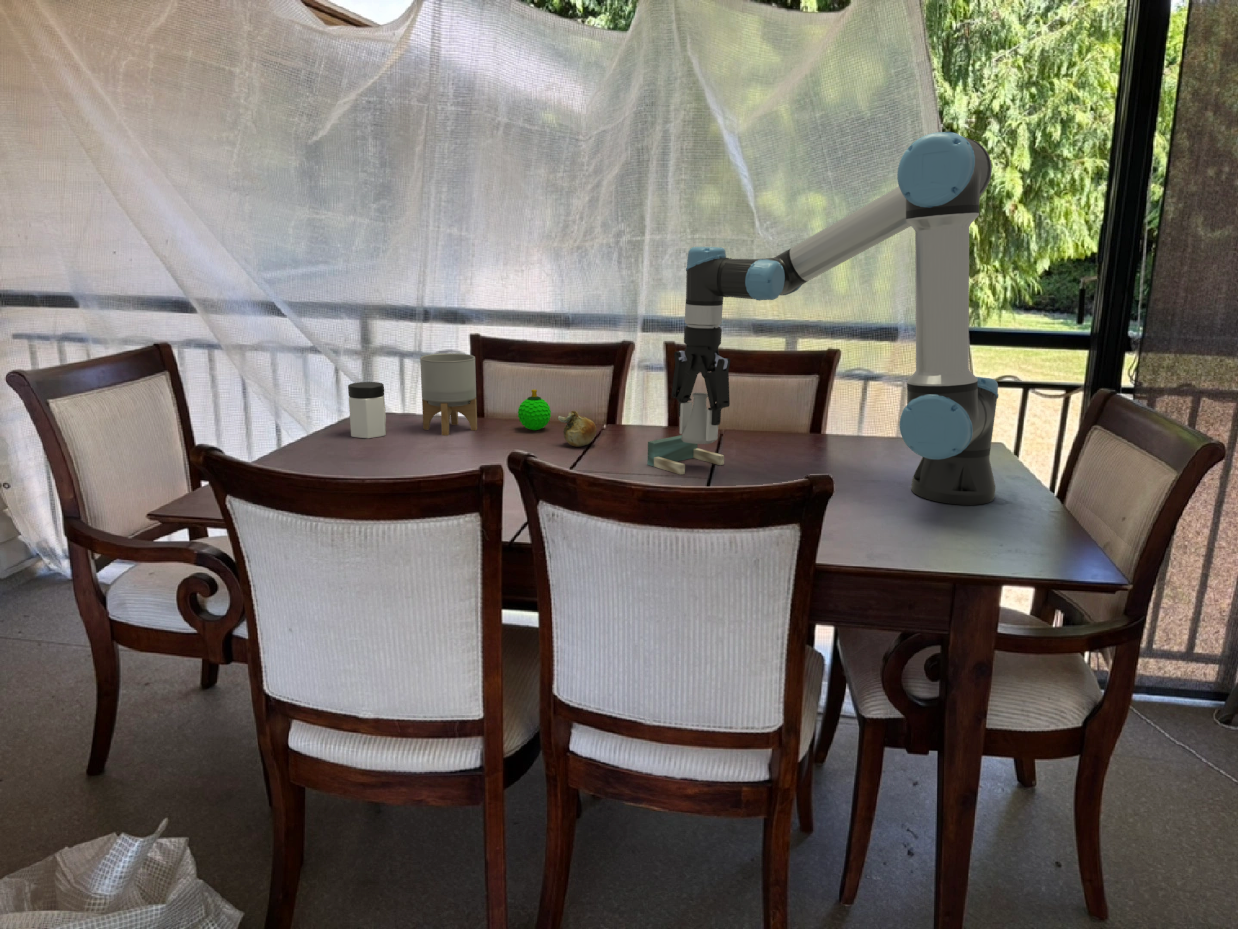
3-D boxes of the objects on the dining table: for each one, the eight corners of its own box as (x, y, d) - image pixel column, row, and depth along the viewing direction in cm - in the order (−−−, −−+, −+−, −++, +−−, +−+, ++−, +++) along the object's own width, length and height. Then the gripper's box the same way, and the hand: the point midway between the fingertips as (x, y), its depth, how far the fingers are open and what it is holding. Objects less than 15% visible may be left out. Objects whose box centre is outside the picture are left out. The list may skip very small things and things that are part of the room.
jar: (386, 438, 210) (383, 387, 207) (349, 439, 208) (346, 388, 205) (387, 429, 218) (384, 380, 215) (352, 430, 217) (349, 381, 213)
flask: (713, 446, 183) (716, 398, 180) (678, 444, 184) (680, 396, 181) (717, 438, 190) (719, 391, 187) (683, 436, 191) (685, 389, 188)
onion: (577, 451, 200) (577, 416, 198) (555, 444, 206) (555, 410, 204) (603, 446, 205) (603, 412, 203) (581, 440, 211) (581, 406, 209)
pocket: (723, 464, 191) (725, 441, 190) (680, 474, 183) (681, 451, 182) (690, 455, 199) (691, 433, 197) (647, 464, 190) (647, 441, 189)
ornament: (522, 425, 225) (521, 386, 222) (554, 427, 224) (554, 387, 221) (514, 433, 217) (513, 392, 214) (547, 434, 216) (546, 393, 213)
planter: (472, 436, 213) (470, 361, 209) (417, 435, 213) (414, 360, 209) (481, 424, 226) (479, 353, 221) (429, 423, 226) (426, 352, 221)
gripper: (753, 329, 176) (746, 443, 182) (681, 319, 190) (677, 425, 196) (726, 331, 171) (721, 448, 177) (655, 321, 185) (652, 430, 191)
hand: (698, 436), depth 187 cm, fingers closed on flask, 7 cm apart
